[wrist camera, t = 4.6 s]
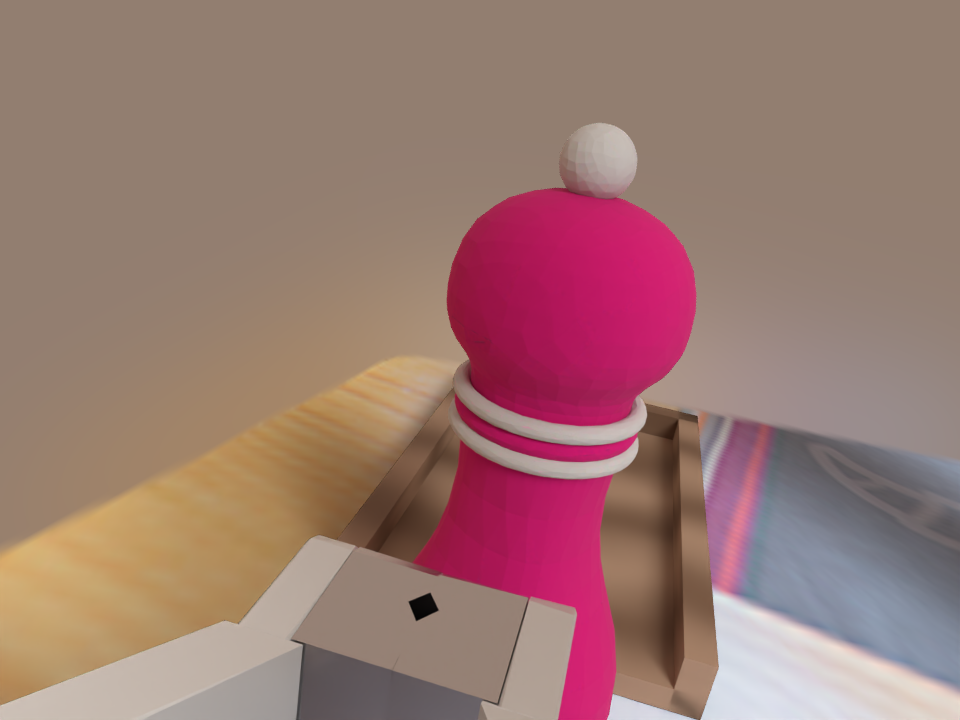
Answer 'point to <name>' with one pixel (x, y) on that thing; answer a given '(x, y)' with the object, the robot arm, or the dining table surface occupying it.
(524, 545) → the pepper mill
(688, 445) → the walnut tray
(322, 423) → the dining table surface
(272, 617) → the robot arm
